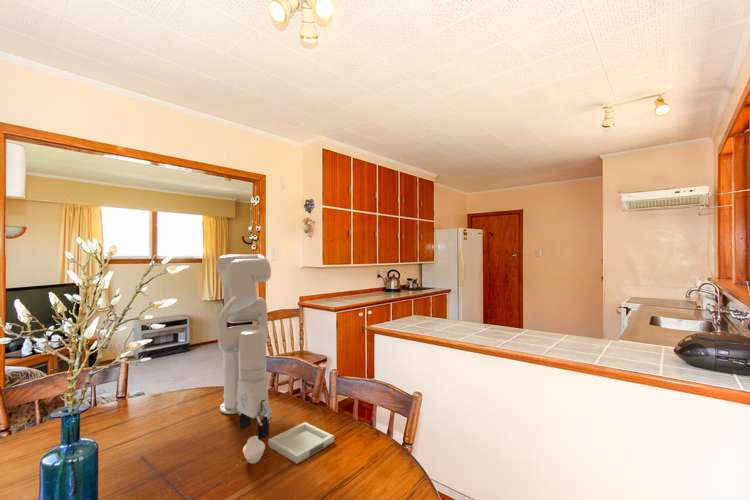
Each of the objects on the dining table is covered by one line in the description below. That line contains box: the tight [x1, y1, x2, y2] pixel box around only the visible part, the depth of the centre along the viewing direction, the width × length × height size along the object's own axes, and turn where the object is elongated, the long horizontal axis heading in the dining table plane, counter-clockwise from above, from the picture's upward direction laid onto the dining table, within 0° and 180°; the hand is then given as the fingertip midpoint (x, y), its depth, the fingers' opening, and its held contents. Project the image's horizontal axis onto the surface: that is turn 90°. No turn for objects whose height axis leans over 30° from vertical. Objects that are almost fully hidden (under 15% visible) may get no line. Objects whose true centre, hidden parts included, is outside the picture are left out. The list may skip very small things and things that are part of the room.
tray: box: [267, 421, 335, 464], centre depth 111 cm, size 15×14×2 cm
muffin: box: [242, 435, 266, 464], centre depth 103 cm, size 6×6×7 cm
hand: (254, 432), depth 103 cm, fingers open, 9 cm apart
